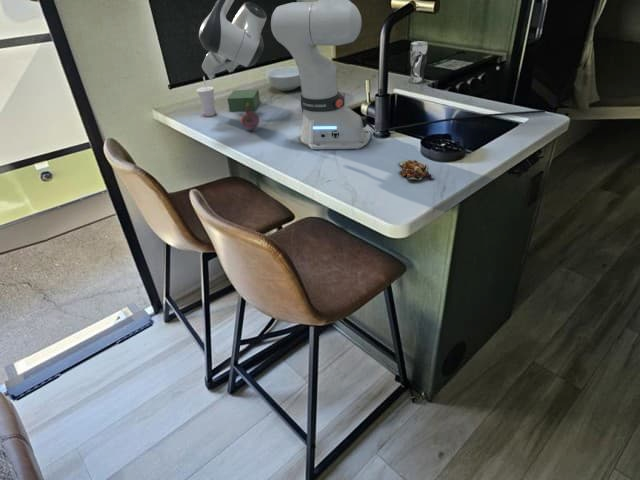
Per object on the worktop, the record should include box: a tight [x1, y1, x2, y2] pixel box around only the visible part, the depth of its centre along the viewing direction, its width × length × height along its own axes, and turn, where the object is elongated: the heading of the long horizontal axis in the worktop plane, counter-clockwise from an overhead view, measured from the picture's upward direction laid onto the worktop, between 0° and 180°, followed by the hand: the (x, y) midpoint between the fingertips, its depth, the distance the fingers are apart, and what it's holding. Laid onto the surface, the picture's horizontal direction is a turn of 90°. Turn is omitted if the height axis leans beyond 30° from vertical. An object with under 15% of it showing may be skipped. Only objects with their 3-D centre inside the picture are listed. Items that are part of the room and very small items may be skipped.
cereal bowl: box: [265, 66, 301, 92], centre depth 184 cm, size 17×17×7 cm
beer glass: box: [408, 40, 429, 84], centre depth 178 cm, size 7×7×15 cm
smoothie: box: [196, 76, 216, 117], centre depth 161 cm, size 6×6×14 cm
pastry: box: [398, 158, 434, 181], centre depth 117 cm, size 7×12×4 cm, turn 16°
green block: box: [227, 88, 261, 112], centre depth 168 cm, size 10×10×5 cm
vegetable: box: [240, 103, 260, 132], centre depth 146 cm, size 6×6×10 cm
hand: (220, 74), depth 152 cm, fingers open, 8 cm apart
